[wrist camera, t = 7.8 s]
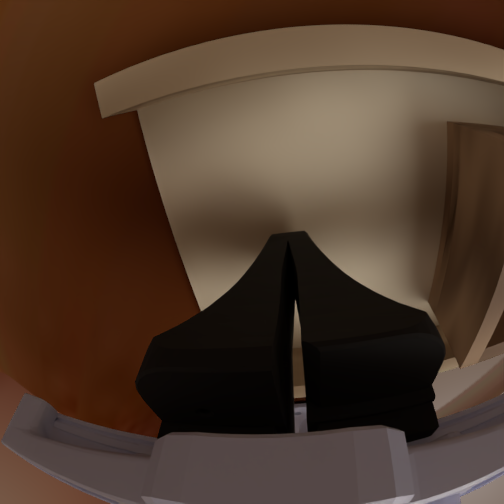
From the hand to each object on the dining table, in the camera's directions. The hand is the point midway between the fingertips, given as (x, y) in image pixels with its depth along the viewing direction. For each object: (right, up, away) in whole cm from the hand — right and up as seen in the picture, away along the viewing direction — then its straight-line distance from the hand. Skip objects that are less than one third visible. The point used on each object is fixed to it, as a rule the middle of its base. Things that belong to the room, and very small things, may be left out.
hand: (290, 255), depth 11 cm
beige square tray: (+11, +2, -1) cm, 11 cm away
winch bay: (+8, +2, 0) cm, 8 cm away
